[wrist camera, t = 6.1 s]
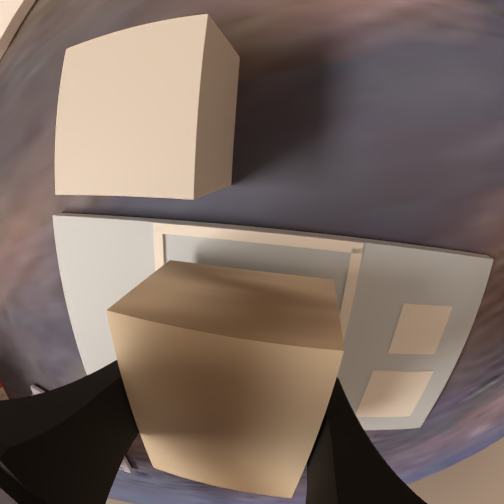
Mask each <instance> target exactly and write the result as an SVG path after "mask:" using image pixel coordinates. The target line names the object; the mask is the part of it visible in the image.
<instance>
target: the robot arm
mask: <svg viewBox="0 0 504 504" xmlns="http://www.w3.org/2000/svg"><path fill="white" fill-rule="evenodd" d="M30 388H31V391H32V393H33V394H32V395H31V396H28V397H22V398H17V399H9V400H0V504H105V503H106V500H107V498H108V495H109V492H110V489H111V487H112V484H113V482H114V479H115V477H116V474H117V472H118V470H119V469H121V470H123V471H126V472H128V473H131V472H132V468H131V466H130V464H129V462H128V460H127V458H126V456H125V455H126V453H127V451H128V449H129V448H130V446H131V444H132V443H133V441H134V440H135V438H136V436H137V435H138V433H139V430H138V427H137V424H136V421H135V418H134V415H133V412H132V409H131V406H130V403H129V400H128V397H127V393H126V390H125V387H124V383H123V380H122V376H121V373H120V369H119V365H118V361H117V360H115V361H114V362H112V363H110V364H108V365H106V366H105V367H103V368H101V369H99V370H97V371H95V372H93V373H91V374H89V375H87V376H85V377H83V378H81V379H79V380H77V381H75V382H72V383H70V384H67V385H65V386H62V387H59V388H57V389H54V390H51V391H47V392H45V391H43V390H42V389H40V388H38V387H37V386H35V385H32V386H30ZM306 504H427V503H426V502H424V501H423V500H422V499H421V498H420V497H418V496H417V495H416V494H415V493H414V492H413V491H412V490H411V489H410V488H409V487H408V486H407V485H406V484H405V483H404V482H403V481H402V480H401V479H400V478H399V477H398V476H397V475H396V474H395V472H394V471H393V470H392V469H391V468H390V466H389V465H388V464H387V463H386V461H385V460H384V459H383V458H382V456H381V455H380V454H379V452H378V451H377V449H376V448H375V446H374V445H373V444H372V442H371V440H370V439H369V437H368V436H367V434H366V432H365V431H364V429H363V427H362V426H361V424H360V422H359V420H358V418H357V417H356V415H355V413H354V411H353V409H352V407H351V405H350V403H349V401H348V399H347V397H346V394H345V392H344V390H343V388H342V385H341V383H340V380H339V379H338V377H337V378H336V381H335V384H334V387H333V391H332V394H331V397H330V400H329V403H328V406H327V409H326V412H325V415H324V418H323V421H322V424H321V426H320V429H319V432H318V435H317V437H316V440H315V443H314V445H313V448H312V451H311V453H310V456H309V458H308V461H307V496H306Z"/></svg>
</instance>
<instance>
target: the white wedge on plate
mask: <svg viewBox="0 0 504 504" xmlns="http://www.w3.org/2000/svg"><path fill="white" fill-rule="evenodd" d="M35 1H36V0H0V59H1V57H2V56H3V54H4V53H5V51H6V50H7V48H8V46H9V44H10V42H11V40H12V38H13V37H14V35H15V33H16V31H17V30H18V28H19V26H20V25H21V23H22V21H23V20H24V18H25V16H26V15H27V13H28V12H29V10H30V9H31V7H32V6H33V4H34V3H35Z"/></svg>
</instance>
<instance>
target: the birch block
mask: <svg viewBox="0 0 504 504" xmlns="http://www.w3.org/2000/svg"><path fill="white" fill-rule="evenodd" d="M106 311H107V317H108V322H109V327H110V331H111V336H112V340H113V345H114V349H115V353H116V357H117V361H118V365H119V369H120V373H121V376H122V380H123V383H124V387H125V390H126V393H127V397H128V400H129V403H130V406H131V409H132V412H133V415H134V418H135V421H136V424H137V427H138V430H139V432H140V435H141V438H142V440H143V443H144V446H145V448H146V451H147V453H148V456H149V458H150V461H151V463H152V465H153V468H156V469H159V470H162V471H165V472H168V473H171V474H174V475H177V476H180V477H184V478H187V479H191V480H194V481H198V482H202V483H206V484H210V485H214V486H218V487H223V488H227V489H232V490H237V491H242V492H248V493H254V494H261V495H268V496H276V497H285V498H292V495H293V493H294V491H295V489H296V487H297V484H298V482H299V480H300V477H301V475H302V473H303V470H304V468H305V466H306V463H307V461H308V458H309V456H310V453H311V451H312V448H313V445H314V443H315V440H316V437H317V435H318V432H319V429H320V426H321V424H322V421H323V418H324V415H325V412H326V409H327V406H328V403H329V400H330V397H331V394H332V391H333V387H334V384H335V381H336V378H337V374H338V371H339V367H340V364H341V360H342V357H343V353H344V346H343V339H342V331H341V324H340V317H339V311H338V304H337V298H336V292H335V286H334V280H333V279H325V278H316V277H307V276H298V275H289V274H280V273H271V272H263V271H254V270H246V269H238V268H230V267H221V266H213V265H206V264H198V263H190V262H182V261H175V260H170V261H168V262H167V263H166V264H164V265H163V266H162V267H160V268H159V269H158V270H156V271H155V272H154V273H153V274H151V275H150V276H149V277H147V278H146V279H145V280H144V281H142V282H141V283H140V284H139V285H137V286H136V287H135V288H133V289H132V290H131V291H130V292H128V293H127V294H126V295H125V296H123V297H122V298H121V299H120V300H118V301H117V302H116V303H115V304H113V305H112V306H111V307H110V308H108V309H107V310H106Z"/></svg>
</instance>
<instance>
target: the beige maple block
mask: <svg viewBox="0 0 504 504" xmlns="http://www.w3.org/2000/svg"><path fill="white" fill-rule="evenodd" d="M239 62H240V57H239V55H238V54H237V53H236V51H235V50H234V48H233V47H232V46H231V44H230V43H229V41H228V40H227V39H226V37H225V36H224V34H223V33H222V32H221V30H220V29H219V28H218V26H217V25H216V24H215V22H214V21H213V20H212V18H211V17H210V16H209V15H208V14H203V15H195V16H188V17H181V18H175V19H169V20H164V21H159V22H154V23H149V24H145V25H140V26H136V27H132V28H128V29H125V30H121V31H117V32H114V33H111V34H107V35H104V36H101V37H98V38H95V39H92V40H89V41H86V42H83V43H81V44H78V45H75V46H73V47H70V48H68V49H66V53H65V58H64V63H63V69H62V76H61V82H60V90H59V98H58V108H57V120H56V137H55V194H56V195H109V196H137V197H158V198H177V199H193V200H194V199H196V198H199V197H201V196H204V195H207V194H209V193H212V192H215V191H217V190H220V189H223V188H225V187H228V186H231V180H232V163H233V146H234V130H235V115H236V101H237V88H238V75H239Z"/></svg>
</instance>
